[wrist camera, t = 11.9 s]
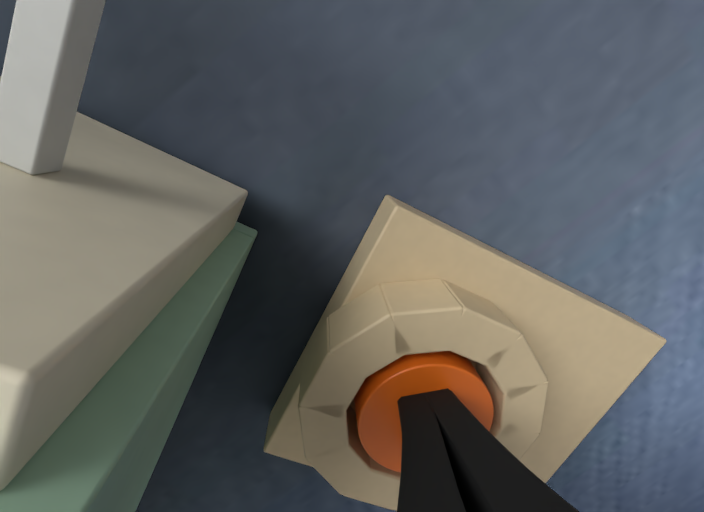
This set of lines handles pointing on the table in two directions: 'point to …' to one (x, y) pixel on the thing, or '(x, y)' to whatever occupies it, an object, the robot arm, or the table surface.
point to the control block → (454, 350)
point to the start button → (408, 379)
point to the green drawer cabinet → (132, 402)
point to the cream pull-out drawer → (81, 228)
